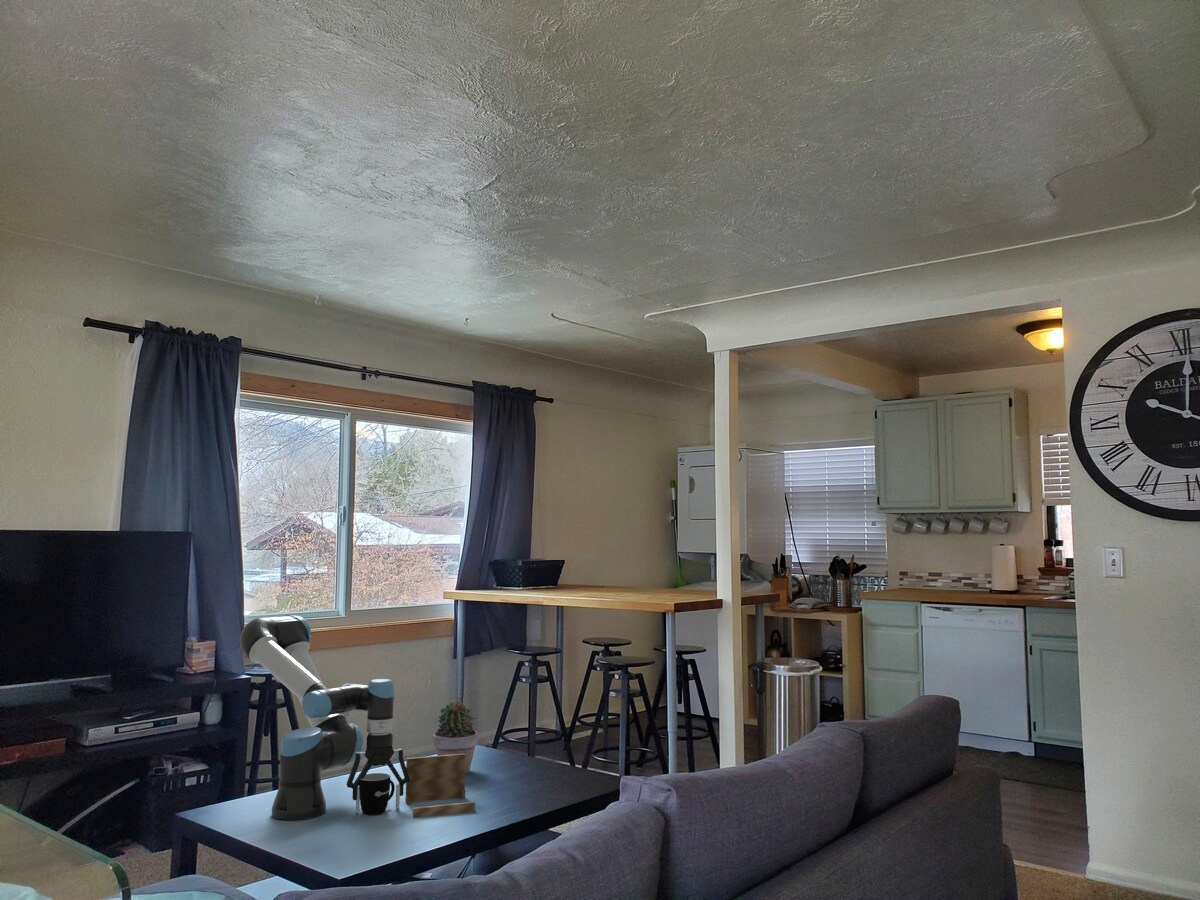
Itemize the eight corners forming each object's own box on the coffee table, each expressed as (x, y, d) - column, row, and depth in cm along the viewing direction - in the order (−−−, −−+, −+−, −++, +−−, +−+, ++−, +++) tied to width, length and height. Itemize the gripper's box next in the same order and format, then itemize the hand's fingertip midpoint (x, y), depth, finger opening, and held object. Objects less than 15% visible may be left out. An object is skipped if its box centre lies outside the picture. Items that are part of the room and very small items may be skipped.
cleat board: (413, 817, 252) (414, 770, 253) (405, 801, 268) (406, 758, 269) (474, 811, 258) (475, 765, 259) (463, 796, 274) (464, 753, 275)
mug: (372, 818, 251) (373, 782, 252) (351, 813, 256) (352, 777, 257) (403, 808, 260) (404, 773, 262) (383, 803, 266) (384, 769, 267)
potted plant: (461, 762, 318) (463, 692, 321) (490, 772, 303) (491, 699, 306) (417, 770, 306) (418, 697, 309) (445, 781, 292) (446, 704, 294)
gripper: (340, 738, 253) (337, 816, 251) (421, 732, 261) (419, 808, 259) (338, 733, 260) (335, 809, 258) (417, 727, 268) (415, 802, 266)
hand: (377, 809), depth 258 cm, fingers open, 11 cm apart
